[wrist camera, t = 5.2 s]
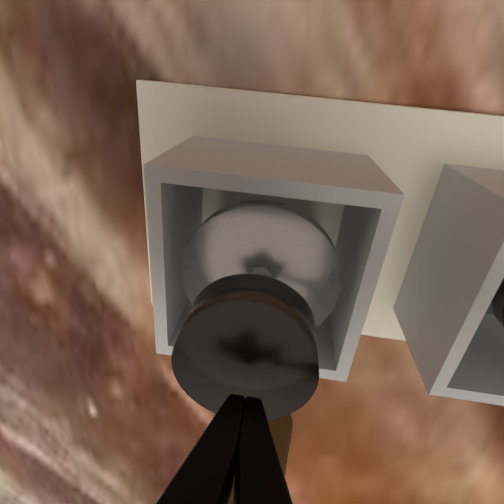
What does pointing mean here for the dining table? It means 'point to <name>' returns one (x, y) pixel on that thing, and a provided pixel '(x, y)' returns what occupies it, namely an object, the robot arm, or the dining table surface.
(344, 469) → the dining table surface
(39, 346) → the dining table surface
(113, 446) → the dining table surface
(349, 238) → the board
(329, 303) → the plunger
